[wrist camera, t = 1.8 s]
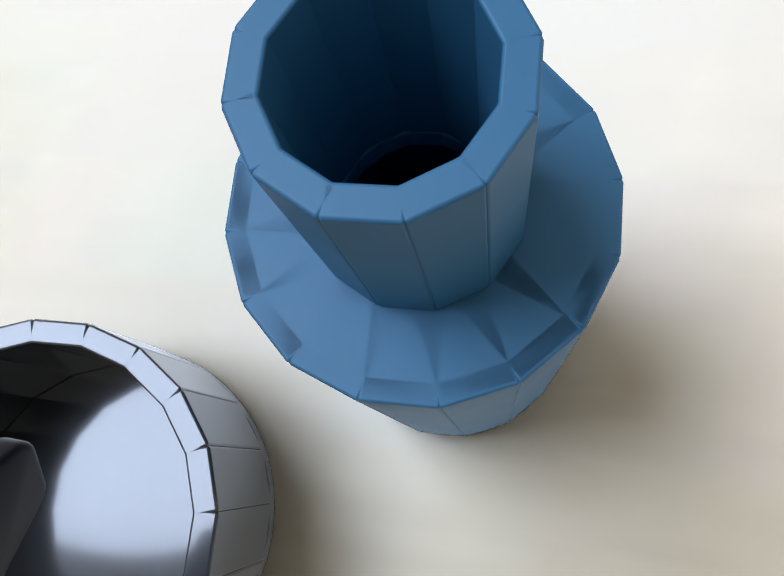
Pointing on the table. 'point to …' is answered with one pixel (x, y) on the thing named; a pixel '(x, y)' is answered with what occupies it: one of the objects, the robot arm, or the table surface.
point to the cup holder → (132, 458)
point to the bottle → (416, 202)
